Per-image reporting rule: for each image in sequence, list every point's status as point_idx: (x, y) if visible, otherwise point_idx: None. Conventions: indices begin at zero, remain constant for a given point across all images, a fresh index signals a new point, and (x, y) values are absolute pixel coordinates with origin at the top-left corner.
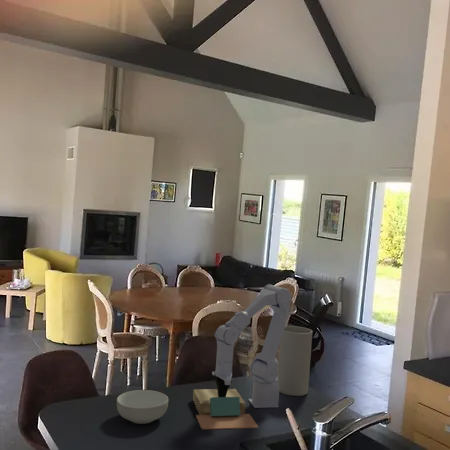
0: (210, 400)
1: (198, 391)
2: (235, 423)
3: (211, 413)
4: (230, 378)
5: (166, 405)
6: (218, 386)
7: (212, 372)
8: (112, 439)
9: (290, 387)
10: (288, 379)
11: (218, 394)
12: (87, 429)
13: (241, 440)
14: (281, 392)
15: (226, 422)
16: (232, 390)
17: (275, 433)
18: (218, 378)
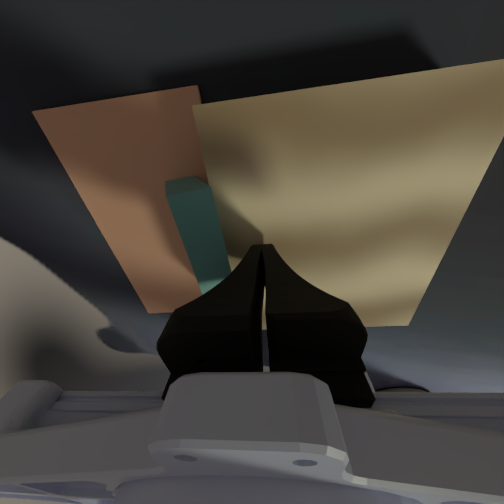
0: (193, 187)
1: (464, 108)
2: (151, 262)
3: (175, 180)
4: (25, 498)
5: None
6: (208, 291)
7: (249, 452)
8: None
9: None
10: None
11: (251, 253)
12: None
13: (37, 258)
14: (386, 391)
15: (149, 234)
16: (393, 313)
17: (131, 335)
18: (290, 351)
